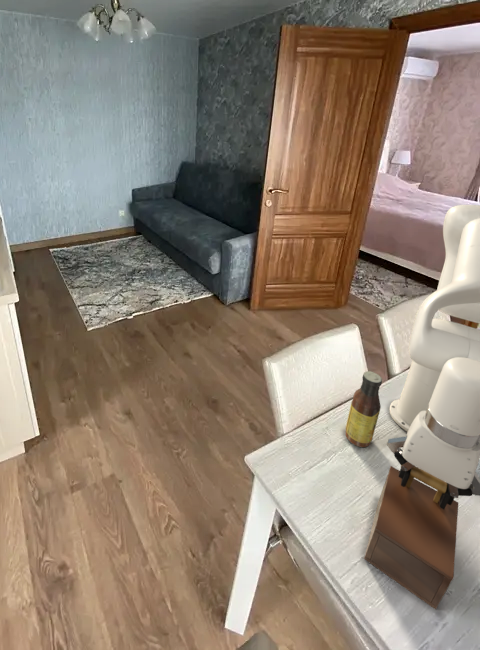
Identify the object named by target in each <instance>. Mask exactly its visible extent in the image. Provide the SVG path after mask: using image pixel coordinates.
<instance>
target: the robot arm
mask: <svg viewBox="0 0 480 650" xmlns="http://www.w3.org/2000/svg"><path fill="white" fill-rule="evenodd" d="M442 236H443V243H444V249H445V257H444V263H443V267H442V270H441V274H440V277H439V281H438V283H437V284H438V285H437V289H436V290H435V291H433V292H432V293H431V294H429V295H428V296H427V297H426V298H425V299H424V300H423V301H422V302H421V304H420V305H419V306H418V308H417V311H416V314H415V316H414V320H413V322H412V323H413V324H412V326H411V327H412V328H411V331H410V335H409V339H408V347H407V348H408V349H407V351H408V355H409V357H410V359H411V363H410V367H409V369H408V373H407V376H406V378H405V381H404V384H403V387H402V388H403V389H402V390H401V393H400V397H399V398H397V399H394V400H393V401H392V402H391V403H390V405H389V408H388V409H389V415H390V417H391V418H392V419H393V421H394V422H395V423H396V424H397V426H399V427H400V428H401V429H403V430H404V431H405V432H406V434H405V436H400V437H392V438H388V439H387V441H386V446H387V448H388V449H389V450H390V452H391V453H392V454H393V456H394V458H395V459H396V461H397V462H398V464H399V465H400V469H399V471H400V472H399V476H398V477H400V478H402V481H401V486H403V487H405V486H406V484H407V481H408V479H409V476H410V472H411V468H413V467H414V466H416V467H418V468H420V469H422V470H424V471H426V472H428V473H429V474H431V475H433V476H435V477H437V478H439V479H441V480H443V481H445V482H447V489H446V492H445V494H444V493H442V495H441V497H440V505H439V506H440V507H441V508H442V509H445V507H446V505H447V504H449V505H451V504H452V502H453V500H455V499H459V497H471V496H473V495H474V496H480V476H479V475H478V473H477V472H476V471H477V469H478V465H479V461H480V328H476V327H471V326H469V325H466V324H462V323H458V322H455V321H451V320H448V319H443V318H435V314H436V313H437V312H438V311H439V312H441V313H443V314H445V315H448V316H451V317H454V318H458V319H461V320H464V321H469V322H472V323H476V324H479V325H480V205H479V204H457V205H454V206H452V207H450V208H449V209H448V210H447V212H446V213H445V216H444V219H443V225H442Z"/></svg>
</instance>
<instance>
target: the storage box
mask: <svg viewBox="0 0 480 650" xmlns="http://www.w3.org/2000/svg"><path fill="white" fill-rule="evenodd" d="M387 478H388V475H387V476H386V479H385V481H384V485H383V487H382V490H381V493H380V496H379V498H378V501H377V505H376V509H375V513H374V517H373V520H372V526H371V529H370V534H369V536H368V541H367V545H366V548H365V549H366V550H365V553H364V557H363V559H364V560H365V561H366V562H368V564H371V565H372V566H373V567H374V568H376V569H377V570H378V571H380V572H381V573H383V574H384V575H386V576H387V577H389V578H390V579H392V580H393V581H394V582H396V583H397V584H398V585H400V586H401V587H402V588H404V589H405V590H407V591H409V592H410V593H411V594H412V595H414V596H416V597H417V598H419V599H420V600H421V601H423V602H424V603H425V604H427V605H428V606H429V607H431V608H433V609H434V610H437V608H438V606H439V605H440V603H441V601H442V600H443V597H444V596H445V594H446V592H447V590H448V589H449V587H450V585H451V583H452V581H453V580H450V579H448V578H447V577H445V576H444V575H442V574H441V573H439V572H438V571H436V570H435V569H433V568H432V567H430V566H429V565H427V564H425V563H424V562H422V561H421V560H419V559H418V558H416V557H415V556H413V555H412V554H410V553H409V552H407V551H406V550H404V549H403V548H401V547H399V546H398V545H396V544H395V543H393V542H392V541H390V540H389V539H387V538H386V537H384V536H383V535H381V534H380V533H378V532H376V531H375V526H376V522H377V518H378V514H379V510H380V506H381V502H382V498H383V494H384V490H385V486H386V482H387Z"/></svg>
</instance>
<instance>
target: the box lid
mask: <svg viewBox="0 0 480 650" xmlns="http://www.w3.org/2000/svg"><path fill="white" fill-rule="evenodd" d="M399 472H400V469H397V468H395V467H394V466H392V465H391V466H389V469H388V473H387V476H388V478H387V477H386V478H387V482H386V486H385V490H384V494H383V498H382V502H381V506H380V510H379V514H378V518H377V522H376V526H375V531H376V532H378V533H380V534H381V535H383V536H384V537H386V538H387V539H389V540H390V541H392V542H393V543H395V544H396V545H398V546H399V547H401V548H403V549H404V550H406V551H407V552H409V553H410V554H412V555H413V556H415V557H416V558H418V559H419V560H421V561H422V562H424V563H425V564H427V565H429V566H430V567H432V568H433V569H435V570H436V571H438V572H439V573H441V574H442V575H444V576H445V577H447V578H448V579H450V580H452V581H453V580H454V575H455V562H456V561H455V560H456V545H457V530H458V516H459V502H458V501H456V500H455V499H454V500H453V502H452V504H451V505H449V504H447V505H446V507H445V509H442V508H441V507H440V506H439V505H440V497H441V495H442V493H444V494H445V492H446V489H447V482H445V481H443V480H441V479H439V478H437V477H435V476H433V475H431V474H429V473H428V472H426V471H424V470H422V469H420V468H418V467H416V466H414V467H413V468H411V472H410V476H409V479H408V481H407V484H406V486H405V487H403V486H401V481H402V478H400V477H398V476H399Z"/></svg>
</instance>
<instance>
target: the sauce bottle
mask: <svg viewBox="0 0 480 650" xmlns="http://www.w3.org/2000/svg"><path fill="white" fill-rule="evenodd" d="M382 384H383V378H382V376H380V374H378V373H376V372H374V371H370V370H369V371H365V372H363V375H362V382H361V385H360V387H359V388H358V389H356V390H355V391H354V393H353V397H352V400H351V403H350V407H349V410H348V415H347V420H346V425H345V431H344V432H345V437H346V439H347V440H348V441H349V443H351V444H352V445H354V446H356V447H359V448H367V447H369V446H370V445H371V442H372V440H373V437H374V434H375V430H376V427H377V423H378V420H379V417H380V416H379V415H380V412H381V409H382V406H381V400H380V396H379V394H380V393H379V391H380V389H381V388H380V387H381V386H382Z"/></svg>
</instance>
